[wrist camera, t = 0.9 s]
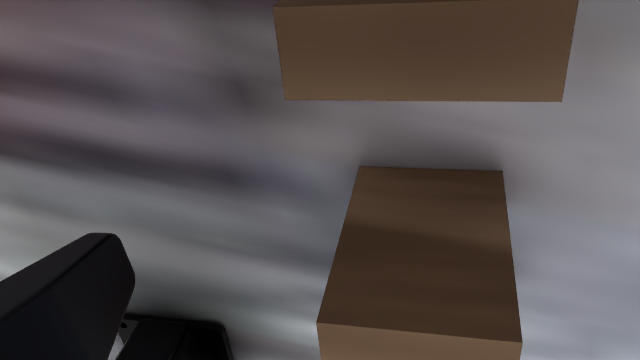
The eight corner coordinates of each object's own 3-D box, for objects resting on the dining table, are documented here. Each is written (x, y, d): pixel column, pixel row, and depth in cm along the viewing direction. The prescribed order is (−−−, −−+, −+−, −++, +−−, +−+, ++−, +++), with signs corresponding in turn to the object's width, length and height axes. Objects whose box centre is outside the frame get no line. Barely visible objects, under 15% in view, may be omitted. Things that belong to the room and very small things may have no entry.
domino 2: (498, 212, 22) (514, 390, 16) (361, 205, 24) (322, 367, 17) (502, 171, 21) (522, 342, 15) (359, 166, 23) (316, 322, 16)
